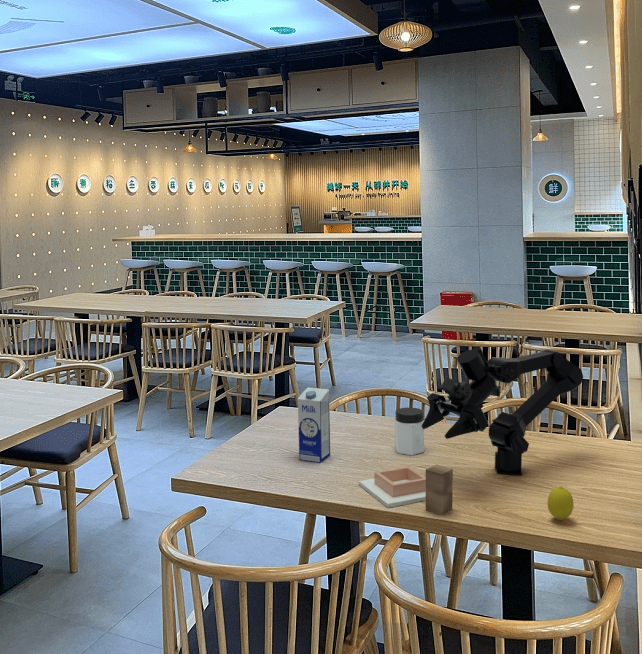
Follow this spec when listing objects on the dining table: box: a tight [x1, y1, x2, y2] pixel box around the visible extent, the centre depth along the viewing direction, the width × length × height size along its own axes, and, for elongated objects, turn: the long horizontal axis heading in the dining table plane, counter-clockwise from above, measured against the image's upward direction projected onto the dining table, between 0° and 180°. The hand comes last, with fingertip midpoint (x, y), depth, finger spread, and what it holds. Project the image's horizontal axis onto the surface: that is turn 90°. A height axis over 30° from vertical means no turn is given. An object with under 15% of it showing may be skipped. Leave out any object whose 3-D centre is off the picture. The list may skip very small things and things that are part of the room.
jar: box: [394, 407, 425, 456], centre depth 207 cm, size 9×8×12 cm
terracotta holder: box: [358, 466, 426, 509], centre depth 178 cm, size 16×16×4 cm
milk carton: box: [297, 387, 331, 464], centre depth 202 cm, size 7×7×20 cm
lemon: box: [547, 486, 574, 521], centre depth 159 cm, size 6×6×8 cm
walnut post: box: [425, 464, 454, 516], centre depth 165 cm, size 4×4×10 cm
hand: (433, 432), depth 176 cm, fingers open, 9 cm apart
